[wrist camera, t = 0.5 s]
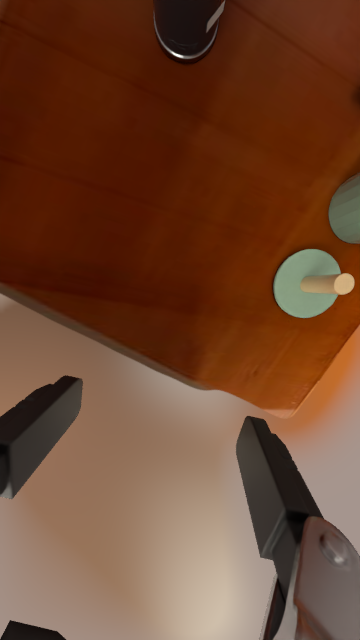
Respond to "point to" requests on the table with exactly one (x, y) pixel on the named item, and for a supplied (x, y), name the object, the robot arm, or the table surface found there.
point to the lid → (309, 283)
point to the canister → (346, 211)
